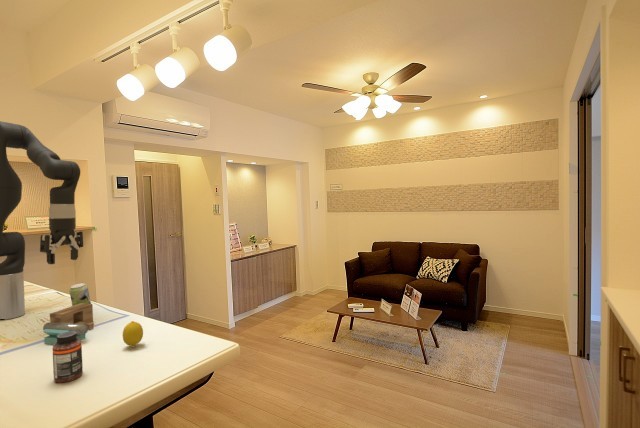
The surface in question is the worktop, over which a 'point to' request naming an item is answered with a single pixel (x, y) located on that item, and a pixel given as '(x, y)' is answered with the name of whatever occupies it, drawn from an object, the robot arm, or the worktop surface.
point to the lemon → (132, 333)
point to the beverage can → (79, 294)
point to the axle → (67, 327)
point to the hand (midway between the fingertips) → (63, 261)
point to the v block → (53, 334)
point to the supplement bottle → (67, 357)
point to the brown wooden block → (75, 315)
